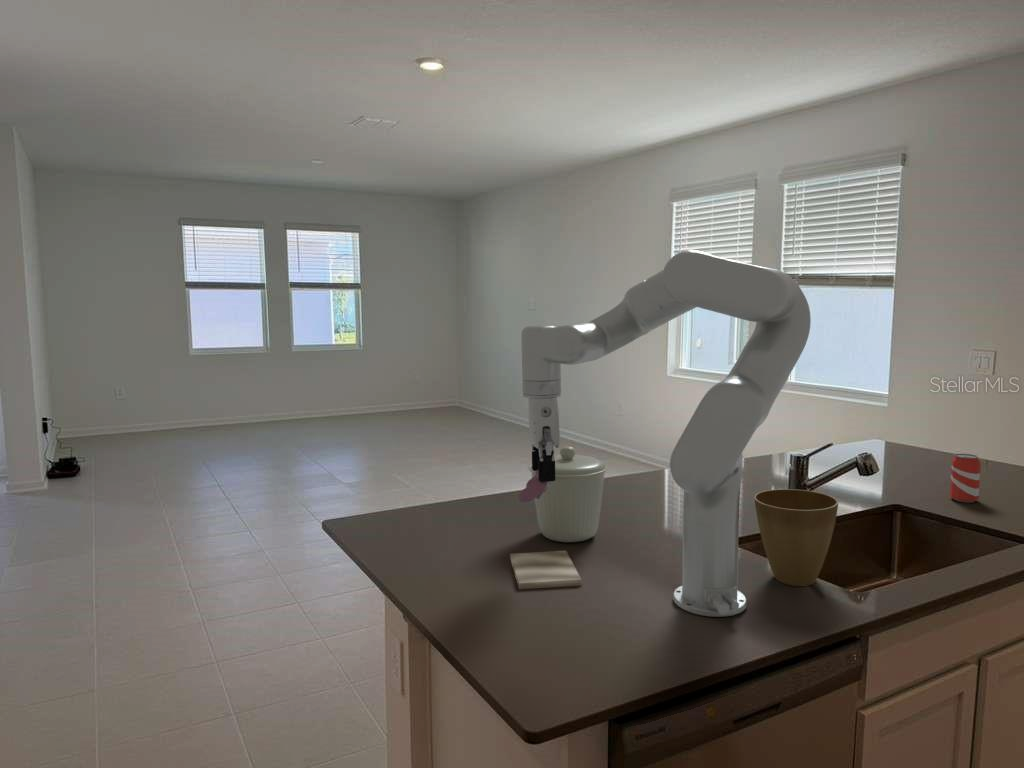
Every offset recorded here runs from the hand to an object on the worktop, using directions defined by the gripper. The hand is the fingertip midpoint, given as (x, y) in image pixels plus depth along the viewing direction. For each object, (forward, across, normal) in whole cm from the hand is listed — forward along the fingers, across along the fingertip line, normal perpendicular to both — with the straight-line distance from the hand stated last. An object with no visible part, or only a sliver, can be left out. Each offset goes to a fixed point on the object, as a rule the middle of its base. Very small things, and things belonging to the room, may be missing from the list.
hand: (543, 475), depth 140 cm
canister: (+20, +21, -9) cm, 31 cm away
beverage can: (+21, +32, -117) cm, 123 cm away
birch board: (+20, 0, 0) cm, 20 cm away
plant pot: (+20, -11, -47) cm, 52 cm away
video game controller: (+5, 0, +1) cm, 5 cm away
